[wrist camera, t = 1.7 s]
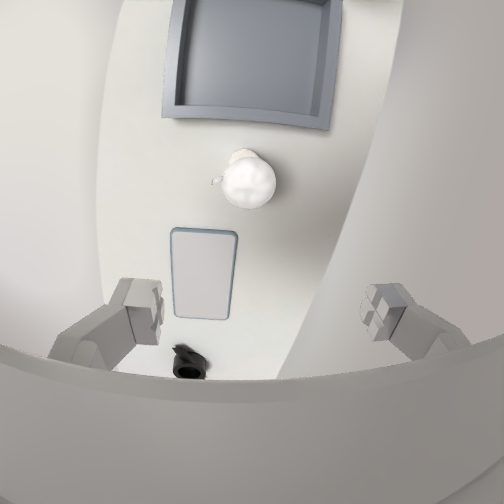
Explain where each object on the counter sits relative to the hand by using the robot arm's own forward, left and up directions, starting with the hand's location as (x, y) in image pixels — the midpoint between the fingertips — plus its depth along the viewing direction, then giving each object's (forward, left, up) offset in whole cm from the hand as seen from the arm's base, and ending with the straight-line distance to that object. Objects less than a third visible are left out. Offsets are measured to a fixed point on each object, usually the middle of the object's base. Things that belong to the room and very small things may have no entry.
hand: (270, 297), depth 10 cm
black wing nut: (+35, -7, -23) cm, 42 cm away
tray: (-13, 0, -23) cm, 26 cm away
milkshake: (0, 0, -23) cm, 23 cm away
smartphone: (+16, -4, -23) cm, 29 cm away
